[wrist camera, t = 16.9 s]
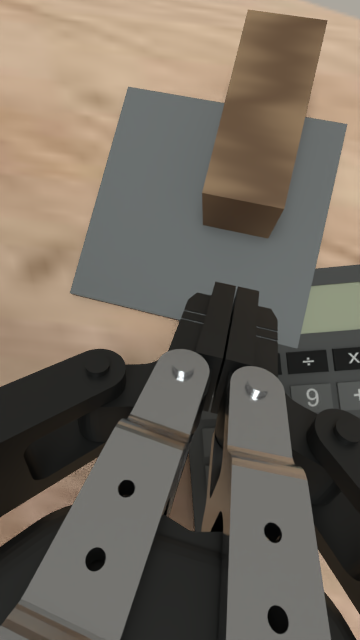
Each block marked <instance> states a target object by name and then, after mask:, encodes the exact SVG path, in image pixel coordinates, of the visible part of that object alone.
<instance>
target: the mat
mask: <svg viewBox="0 0 360 640" xmlns="http://www.w3.org/2000/svg"><path fill="white" fill-rule="evenodd" d="M224 104H225V103H220V102H214V101H208V100H203V99H197V98H191V97H185V96H179V95H173V94H167V93H162V92H156V91H150V90H144V89H138V88H132V87H128V89H127V93H126V96H125V100H124V103H123V107H122V111H121V114H120V118H119V121H118V125H117V128H116V132H115V135H114V139H113V142H112V146H111V150H110V153H109V157H108V160H107V164H106V167H105V171H104V174H103V178H102V181H101V185H100V188H99V192H98V196H97V199H96V203H95V206H94V210H93V213H92V217H91V220H90V224H89V227H88V231H87V234H86V238H85V242H84V245H83V249H82V252H81V256H80V259H79V263H78V266H77V270H76V273H75V277H74V281H73V284H72V288H71V291H70V293H71V294H74V295H78V296H82V297H86V298H90V299H94V300H98V301H102V302H106V303H111V304H115V305H119V306H123V307H127V308H131V309H135V310H139V311H143V312H147V313H151V314H156V315H160V316H164V317H168V318H172V319H176V320H180V319H181V317H182V314H183V311H184V309H185V306H186V303H187V301H188V299H189V298H191V297H192V296H193V295H194V294H196V293H197V292H198V293H202V294H207V295H212V292H213V288H214V285H215V282H220V283H225V284H229V285H234V286H236V290H235V295H236V291H237V288H238V286H239V287H243V288H248V289H252V290H257V291H259V302H258V306H261V307H265V308H270V309H272V311H273V313H274V314H275V316H276V318H277V319H278V331H277V333H278V340H277V342H278V344H280V345H284V346H288V347H292V348H296V349H297V348H298V344H299V339H300V335H301V330H302V326H303V321H304V317H305V312H306V308H307V303H308V299H309V294H310V290H311V285H312V281H313V276H314V272H315V267H316V263H317V258H318V254H319V249H320V245H321V240H322V236H323V231H324V227H325V222H326V218H327V213H328V209H329V204H330V200H331V195H332V191H333V186H334V182H335V177H336V173H337V168H338V164H339V159H340V155H341V150H342V146H343V141H344V136H345V132H346V127H347V124H343V123H337V122H331V121H325V120H320V119H314V118H308V117H305V120H304V125H303V129H302V134H301V138H300V142H299V147H298V151H297V155H296V160H295V164H294V168H293V173H292V177H291V182H290V186H289V190H288V195H287V199H286V203H285V208H284V210H283V212H282V214H281V216H280V218H279V219H278V221H277V223H276V225H275V227H274V229H273V231H272V232H271V234H270V236H269V238H263V237H258V236H253V235H248V234H244V233H239V232H234V231H229V230H224V229H220V228H215V227H210V226H205V225H203V211H202V191H203V187H204V183H205V179H206V175H207V171H208V167H209V163H210V159H211V155H212V151H213V147H214V143H215V139H216V135H217V131H218V127H219V123H220V119H221V115H222V112H223V108H224ZM234 298H235V296H234ZM233 302H234V301H233Z"/></svg>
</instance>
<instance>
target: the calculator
mask: <svg viewBox="0 0 360 640" xmlns="http://www.w3.org/2000/svg"><path fill="white" fill-rule="evenodd" d="M179 322H180V320H179ZM278 379H279V380H280V382H281V383H282V385H283V387H284V391H285V393H286V394H287V395H288V396H289V397H290V398H291V399H292V400H294V401H295V402H297V403H298V404H300V405H302V406H304V407H305V408H307V409H309V410H311V411H313V412H315V413H317V414H319V413H320V412H321V411H323V410H326V409H332V408H333V409H340V410H344V411H347V412H349V413H351V414H353V415H355V416H356V417H358V418H359V419H360V265H351V266H340V267H329V268H319V269H315V272H314V276H313V281H312V285H311V290H310V294H309V299H308V303H307V308H306V312H305V317H304V321H303V326H302V330H301V335H300V339H299V344H298V348H297V349H296V348H292V347H288V346H284V345H280V344H278ZM214 390H215V389H214ZM213 395H214V392H213ZM212 401H213V396H212V399H211V403H210V407H209V410H208V412H207V411H202V415H201V419H200V423H199V426H198V428H197V430H196V431H195V433H194V437H193V440H192V443H191V446H190V449H189V458H190V471H191V484H192V497H193V510H194V523H195V532H201V529H202V522H203V517H204V512H205V507H206V499H207V489H208V477H209V466H210V455H211V444H212V436H213V433H214V429H215V426H216V421H217V415H218V414H215V413H211V412H210V411H211V406H212Z"/></svg>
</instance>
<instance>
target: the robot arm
mask: <svg viewBox="0 0 360 640" xmlns="http://www.w3.org/2000/svg"><path fill="white" fill-rule="evenodd" d="M235 290H236V286H234V285H229V284H225V283H220V282H215V285H214V288H213V292H212V295H207V294H202V293H198V292H197V293H196V294H194V295H193V296H192V297H191V298H189V299H188V301H187V303H186V306H185V309H184V311H183V314H182V317H181V319H180V322H179V325H178V327H177V330H176V332H175V335H174V338H173V340H172V343H171V346H170V348H169V350H168V352H166V353H164V354H163V355H162V356H161V357H160V358H159V360H158V361H155V362H152V363H149V364H134V365H125V362H124V360H123V359H122V357H121V356H120V355H118V354H117V353H115V352H113V351H110V350H106V349H94V350H89V351H86V352H84V353H81V354H79V355H76V356H74V357H72V358H69V359H67V360H64V361H62V362H60V363H57V364H55V365H52V366H50V367H47V368H45V369H43V370H40V371H38V372H35V373H33V374H31V375H28V376H26V377H23V378H21V379H19V380H16V381H14V382H11V383H9V384H6V385H4V386H2V387H0V517H1V516H3V515H4V514H6V513H8V512H9V511H11V510H13V509H14V508H16V507H17V506H19V505H21V504H22V503H24V502H26V501H27V500H29V499H30V498H32V497H34V496H35V495H37V494H39V493H40V492H42V491H43V490H45V489H47V488H48V487H50V486H52V485H53V484H55V483H56V482H58V481H60V480H61V479H63V478H65V477H66V476H68V475H69V474H71V473H73V472H74V471H76V470H78V469H79V468H81V467H82V466H84V465H86V464H87V463H89V462H91V461H92V460H94V459H95V458H97V457H98V459H97V461H96V463H95V464H94V466H93V468H92V470H91V472H90V474H89V476H88V477H87V479H86V481H85V483H84V485H83V487H82V488H81V490H80V492H79V494H78V496H77V498H76V499H75V501H74V503H73V505H70V506H67V507H64V508H62V509H59V510H57V511H54V512H52V513H50V514H48V515H47V516H45V517H43V518H41V519H40V520H38V521H37V522H35V523H34V524H32V525H31V526H29V527H28V528H26V529H25V530H24V531H22V532H21V533H19V534H18V535H17V536H15V537H14V538H12V539H11V540H9V541H8V542H7V543H5V544H4V545H2V546H1V547H0V640H356V638H355V636H354V635H353V633H352V631H351V630H350V628H349V626H348V624H347V623H346V621H345V620H344V618H343V616H342V615H341V613H340V612H339V610H338V609H337V608H336V606H335V605H334V603H333V602H332V601H331V599H330V598H329V597H328V596H327V594H326V593H325V592H324V589H323V582H322V575H321V568H320V562H319V555H318V550H319V552H320V553H321V555H322V556H323V558H324V559H325V561H326V563H327V564H328V566H329V567H330V569H331V570H332V572H333V573H334V575H335V577H336V578H337V580H338V581H339V583H340V584H341V586H342V587H343V589H344V591H345V592H346V594H347V595H348V597H349V598H350V600H351V601H352V603H353V605H354V606H355V608H356V609H357V611H358V612H359V614H360V419H359V418H358V417H356V416H355V415H353V414H351V413H349V412H347V411H344V410H340V409H333V408H332V409H326V410H323V411H321V412H320V413H319V414H317V413H315V412H313V411H311V410H309V409H307V408H305V407H304V406H302V405H300V404H298V403H297V402H295V401H294V400H292V399H291V398H290V397H289V396H288V395H287V394H286V393H285V391H284V387H283V385H282V383H281V382H280V380H279V379H278V342H277V340H278V333H277V331H278V319H277V318H276V316H275V314H274V313H273V311H272V309H270V308H265V307H261V306H258V302H259V291H257V290H252V289H248V288H243V287H239V286H238V288H237V291H236V295H235ZM234 296H235V298H234ZM233 301H234V302H233ZM214 389H215V390H214ZM213 392H214V395H213ZM212 396H213V401H212V406H211V411H210V412H211V413H215V414H218V415H217V421H216V426H215V429H214V433H213V436H212V444H211V455H210V466H209V477H208V489H207V499H206V507H205V512H204V517H203V522H202V529H201V532H194V531H190V530H188V529H186V528H184V527H183V526H181V525H180V524H178V523H176V522H175V521H173V520H172V519H170V518H169V515H170V511H171V508H172V504H173V501H174V497H175V494H176V491H177V487H178V484H179V481H180V478H181V475H182V471H183V468H184V465H185V462H186V459H187V456H188V452H189V449H190V446H191V443H192V440H193V437H194V433H195V431H196V430H197V428H198V426H199V423H200V419H201V415H202V411H207V412H208V410H209V407H210V403H211V399H212Z"/></svg>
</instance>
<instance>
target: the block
mask: <svg viewBox="0 0 360 640" xmlns="http://www.w3.org/2000/svg"><path fill="white" fill-rule="evenodd" d="M326 24H327V20H320V19H313V18H305V17H298V16H291V15H283V14H276V13H269V12H261V11H254V10H248V12H247V16H246V20H245V24H244V28H243V32H242V36H241V40H240V44H239V48H238V52H237V56H236V60H235V64H234V68H233V72H232V76H231V80H230V84H229V88H228V92H227V96H226V100H225V104H224V108H223V112H222V115H221V119H220V123H219V127H218V131H217V135H216V139H215V143H214V147H213V151H212V155H211V159H210V163H209V167H208V171H207V175H206V179H205V183H204V187H203V191H202V211H203V225H205V226H210V227H215V228H220V229H224V230H229V231H234V232H239V233H244V234H248V235H253V236H258V237H263V238H269V236H270V234H271V232H272V231H273V229H274V227H275V225H276V223H277V221H278V219H279V218H280V216H281V214H282V212H283V210H284V208H285V203H286V199H287V195H288V190H289V186H290V182H291V177H292V173H293V168H294V164H295V160H296V155H297V151H298V147H299V142H300V138H301V134H302V129H303V125H304V120H305V116H306V112H307V107H308V103H309V99H310V94H311V90H312V85H313V81H314V77H315V72H316V68H317V64H318V59H319V55H320V51H321V46H322V42H323V37H324V33H325V29H326Z"/></svg>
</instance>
